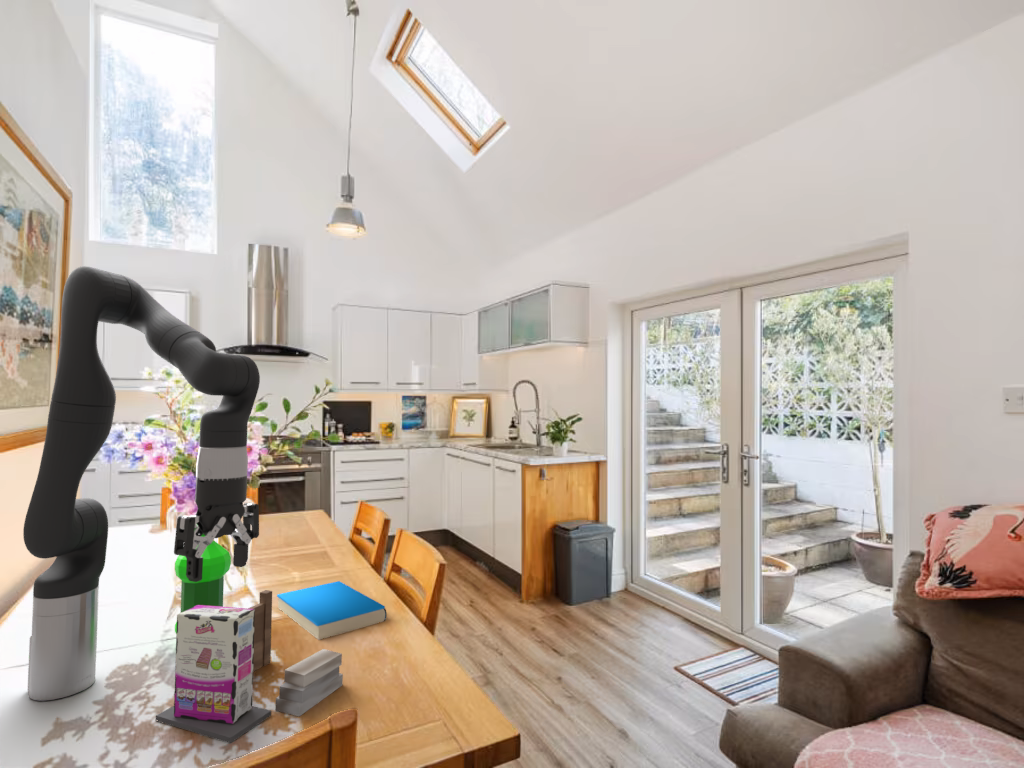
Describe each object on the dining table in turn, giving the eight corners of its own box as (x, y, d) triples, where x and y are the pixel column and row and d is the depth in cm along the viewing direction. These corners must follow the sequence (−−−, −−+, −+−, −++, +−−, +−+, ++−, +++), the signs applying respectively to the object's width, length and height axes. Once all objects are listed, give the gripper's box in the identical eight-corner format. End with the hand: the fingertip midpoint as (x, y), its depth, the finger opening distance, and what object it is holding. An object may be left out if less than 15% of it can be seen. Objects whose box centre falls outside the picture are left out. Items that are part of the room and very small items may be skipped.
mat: (155, 720, 89) (155, 715, 89) (199, 696, 96) (199, 691, 96) (230, 743, 83) (230, 737, 83) (270, 715, 91) (271, 710, 91)
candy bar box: (254, 708, 91) (257, 607, 92) (233, 725, 86) (236, 619, 87) (195, 701, 93) (198, 602, 94) (171, 717, 88) (175, 613, 89)
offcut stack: (275, 710, 92) (276, 673, 92) (320, 679, 102) (321, 647, 103) (300, 716, 90) (301, 679, 91) (343, 685, 101) (344, 651, 101)
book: (317, 624, 120) (275, 593, 138) (317, 644, 120) (275, 610, 138) (387, 605, 131) (340, 579, 150) (387, 623, 131) (340, 595, 150)
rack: (199, 697, 96) (201, 615, 97) (264, 661, 110) (266, 589, 110) (205, 699, 95) (208, 617, 96) (270, 662, 109) (272, 591, 110)
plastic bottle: (238, 638, 120) (241, 522, 121) (190, 657, 111) (194, 532, 112) (210, 629, 125) (213, 517, 126) (162, 646, 116) (166, 526, 117)
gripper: (240, 468, 99) (236, 559, 99) (165, 477, 86) (160, 582, 85) (272, 470, 96) (269, 564, 96) (200, 480, 83) (195, 589, 83)
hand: (218, 573), depth 91 cm, fingers open, 8 cm apart
